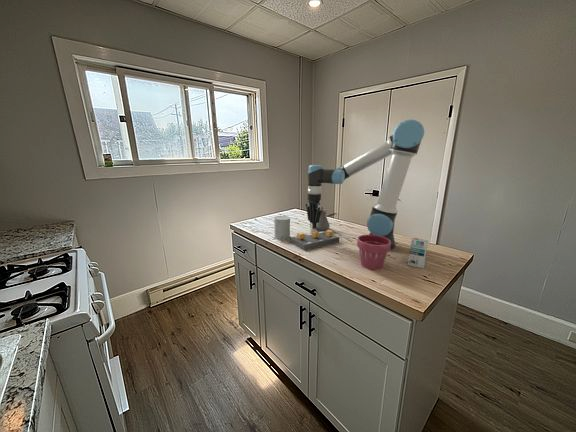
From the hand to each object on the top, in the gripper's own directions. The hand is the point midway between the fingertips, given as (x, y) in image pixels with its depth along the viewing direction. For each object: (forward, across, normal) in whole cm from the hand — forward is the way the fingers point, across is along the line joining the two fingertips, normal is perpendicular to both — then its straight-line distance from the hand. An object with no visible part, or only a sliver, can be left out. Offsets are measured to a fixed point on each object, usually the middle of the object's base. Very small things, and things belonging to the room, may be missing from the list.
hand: (312, 233), depth 138 cm
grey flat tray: (+5, +2, 0) cm, 5 cm away
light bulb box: (+5, +48, +25) cm, 54 cm away
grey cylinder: (+5, -15, -12) cm, 20 cm away
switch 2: (+1, +2, 0) cm, 3 cm away
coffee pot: (+5, -10, +18) cm, 21 cm away
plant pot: (+5, +39, +4) cm, 40 cm away
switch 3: (+1, +5, +8) cm, 10 cm away
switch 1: (+1, 0, -9) cm, 9 cm away
